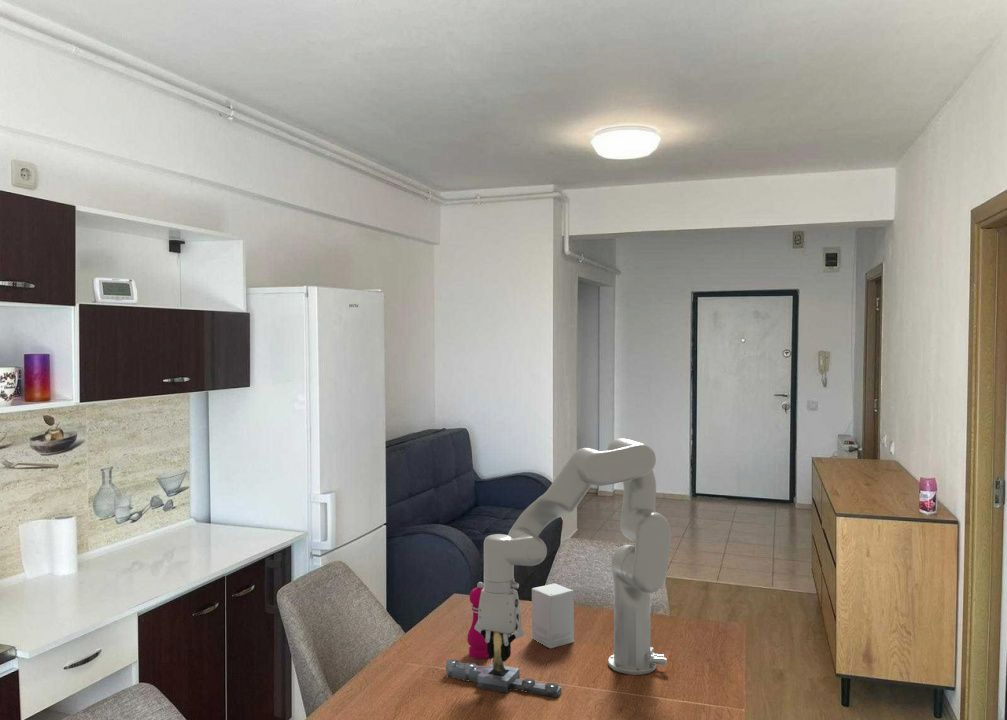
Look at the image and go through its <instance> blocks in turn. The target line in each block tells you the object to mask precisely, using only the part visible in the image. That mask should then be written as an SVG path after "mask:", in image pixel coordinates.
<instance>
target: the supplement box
mask: <svg viewBox="0 0 1007 720" xmlns="http://www.w3.org/2000/svg"><path fill="white" fill-rule="evenodd" d="M574 593H575V591H574V590H573V589H570V588H568V587H565V586H563V585H560V584H558V583H554V582H553V583H549V584H546V585H542V586H537V587H532V588H531V639H534V640H536V641H537V642H536V641H535V642H536V643H538V642H539V644H540V643H541V644H540V645H542V644H543V646H544V647H546V648H549V649H554V648H557V647H560V646H564V645H568V644H572V643H574V641H575V609H574V608H575V599H574V598H575V594H574ZM534 640H533V641H534Z"/></svg>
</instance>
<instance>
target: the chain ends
mask: <svg viewBox="0 0 1007 720" xmlns="http://www.w3.org/2000/svg"><path fill="white" fill-rule="evenodd" d="M445 673H446V674H445V677H446V676H448V677H454V678H459V679H458V680H460V679H464V680H463V681H465V680H469V681H468V682H470V681H473V682H472V683H476V682H478V683H477V689H482V688H484V689H483V690H487V689H488V690H489V691H492V690H494V691H493V692H497V691H499V693H503V692H505V693H504V694H508V693H510V691H511V690H513V689H517V690H516V691H518V690H523V691H527V692H526V693H529V692H532V693H531V694H534V693H536V694H535V695H539V694H542V695H541V696H545V695H547V696H546V697H549V696H550V697H551V698H555V699H557V698H559V697H560V695H561V694H562V686H561V685H558V684H557V683H555V682H547V683H545V682H544V683H543V682H539V681H536V680H535V679H532V678H524V679H523V678H522V679H521V677H520V673H521V671H520V668H518V667H512V666H507V665H505V669H504V670H502V671H496V670H494V669H493V663H489V665H488V666H482V665H477V664H476V663H475V662H460V661H459V660H458V659H455V658H453V659H452V658H451V659H447V660H446V662H445ZM448 677H447V678H448ZM454 678H453V679H454ZM510 689H511V690H510ZM488 690H487V691H488ZM509 690H510V691H509ZM523 691H522V692H523Z"/></svg>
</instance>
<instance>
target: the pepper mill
mask: <svg viewBox="0 0 1007 720" xmlns="http://www.w3.org/2000/svg"><path fill="white" fill-rule="evenodd" d="M483 588H484V582H482V581H479V582H477V584H476V587H474V588H472V589H471V591H470V593H469V602H470V603H471V610H470V611H471V612H472V622H471V624H470V625H471V626H470V628H469V630H468V633H467V637H466V641H467V643H468V645H469V646H470V647H469V648H468V654H469V657H471V658H472V659H476V658H477V660H481V659H480V658H485V659H487V658H488V659H489V654H488V653H487V642H486V641H485V638H484V637H483V636H482V634H481V633H479V632H478V631H477V630H475V628H474V627H475V625H476V623H477V621H478V611H479V601H480V596H481V591H482V589H483Z"/></svg>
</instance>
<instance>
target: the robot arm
mask: <svg viewBox="0 0 1007 720" xmlns="http://www.w3.org/2000/svg"><path fill="white" fill-rule="evenodd" d="M656 459H657V457H656V454H655V451H654V450H653V449H652V448H651V447H650V446H649V445H648V444H646V443H643V442H639V441H636V440H633V439H629V438H615V439H613V440H611V441H610V443H608V446H607V449H606V450H603V451H600V450H597V449H594V448H590V447H583V448H579V449H577V450H575V451H574V453H573V454H572V455H571V456H570V458H569V459H568V460H567V462H566V463H565V465H564V466H563V468H562V469H561V470H560V472H559V473H558V475H557V476H556V478H555V479H554V481H553V482H552V483H551V485H550V486H548V489H547V490H546V491H545V492H544V493H543V494H542V495H540V496H538V497H537V498H536V500H534V501H533V502H532V503H530V505H528V506H527V507H526V508H525V509H524V510H523V511H522V512H521V513H520V515H519V517H518V518H517V519H516V521H515V522H514V523H513V525H512V527H511V528H510V530H509V532H508V534H504V533H503V534H502V533H496V534H490V535H487V536H486V537H485V538H484V540H483V584H484V586H483V587H484V588H483V589H482V591H481V596H480V601H479V611H478V621H477V623H476V625H475V627H474V628H475V630H477V631H478V632H479V633H481V634H482V636H483V637H484V638H485V641H486V642H487V653H488V654H489V657H488V659H489V660H493V632H500V633H503V639H504V645H502V661H504V662H505V663H506V661H507V660H508V659H509V658H510V657H511V654H512V653H511V645H512V644H511V643H513V642H514V640H517V639H519V638H521V637H523V636H525V632H524V629H523V628H522V625H521V624H522V620H521V619H522V618H521V617H522V616H521V605H520V599H519V594H518V591H517V590H518V589H519V587H520V584H519V583H518V582H516V581H515V577H514V575H515V573H514V572H515V569H514V568H515V567H514V566H525V567H533V566H537V565H538V566H539V565H540V564H541V563H542V562H543V561H544V560H545V559H546V557H547V554H548V548H547V545H546V543H545V542H544V541H543V539H542V538H540V537H539V535H540V534H541V533H542V531H543V530H544V529H545V527H547V526H548V524H550V523H551V522H553V521H555V520H556V519H558V518H562V517H565V516H568V515H570V514H572V513H573V512H575V510H576V509H577V508H578V505H579V504H580V502H581V501H582V500H583V498H584V497H585V496H586V494H587V493H588V491H589V490H590V489H591V487H592V486H596V487H599V486H601V487H602V486H603V487H604V486H609V485H615V484H619V483H622V484H623V494H622V504H621V514H620V521H619V523H620V524H619V529H620V531H621V534H622V535H623V536H624V537H625V538H626V539H628V540H629V541H631V542H633V543H634V544H635V545H634V544H624V545H621V546H620V547H619V546H618V548H617V549H616V550H615V551H614V553H613V554H612V557H611V563H610V569H611V575H612V582H613V585H612V586H613V654H611V655H610V656H609V657H608V658H607V663H608V666H609V668H610V669H612V670H613V671H616V672H618V673H621V674H625V675H632V676H633V675H634V676H636V675H647V674H650V673H652V672H654V671H655V670H656V669H657V665H659V666H664V667H666V666H667V665H668V664H667V663H668V659H667V657H665V655H664V654H661V653H660V654H658V653H656V652H654V647H653V646H651V622H652V621H651V618H652V617H651V607H652V606H651V605H652V604H651V603H652V601H651V600H652V599H651V594H652V593H656V592H657V591H659V590H661V588H662V587H663V585H664V584H665V582H666V579H667V576H668V571H669V564H670V563H669V562H670V553H671V544H672V530H671V529H672V528H671V526H670V523H669V521H668V520H667V518H666V517H665V516H664V515H663V514H662V513H659V512H658V511H656V500H657V497H656V496H657V481H656V476H655V473H654V471H653V469H654V468H655V465H656V463H657V462H656V461H657V460H656Z"/></svg>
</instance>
